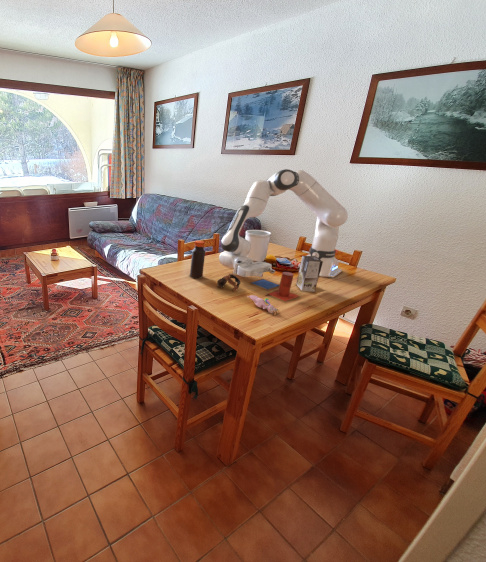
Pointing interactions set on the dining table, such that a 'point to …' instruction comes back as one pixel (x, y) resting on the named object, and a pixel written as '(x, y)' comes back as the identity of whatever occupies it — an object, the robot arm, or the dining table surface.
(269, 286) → the blue mat
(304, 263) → the coffee box
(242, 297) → the dining table surface
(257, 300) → the pink elongated piece
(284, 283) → the rust-red canister
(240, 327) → the dining table surface
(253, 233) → the utensil holder
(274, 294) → the terracotta mat
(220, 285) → the brown headphones
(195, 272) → the bottle
